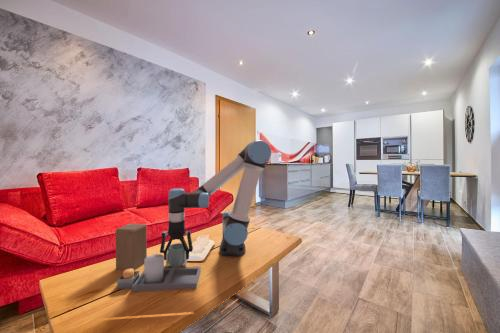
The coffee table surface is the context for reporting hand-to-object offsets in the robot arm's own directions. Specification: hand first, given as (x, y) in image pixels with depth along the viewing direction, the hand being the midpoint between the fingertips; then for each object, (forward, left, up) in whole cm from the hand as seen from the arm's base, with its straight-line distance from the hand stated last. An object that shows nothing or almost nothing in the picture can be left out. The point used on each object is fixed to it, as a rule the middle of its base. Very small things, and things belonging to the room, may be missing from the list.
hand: (176, 265), depth 105 cm
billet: (+6, +14, 0) cm, 15 cm away
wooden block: (+22, -2, -1) cm, 22 cm away
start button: (+16, +15, +2) cm, 22 cm away
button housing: (+16, +15, 0) cm, 22 cm away
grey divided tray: (0, +14, 0) cm, 14 cm away
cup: (0, 0, -1) cm, 1 cm away
